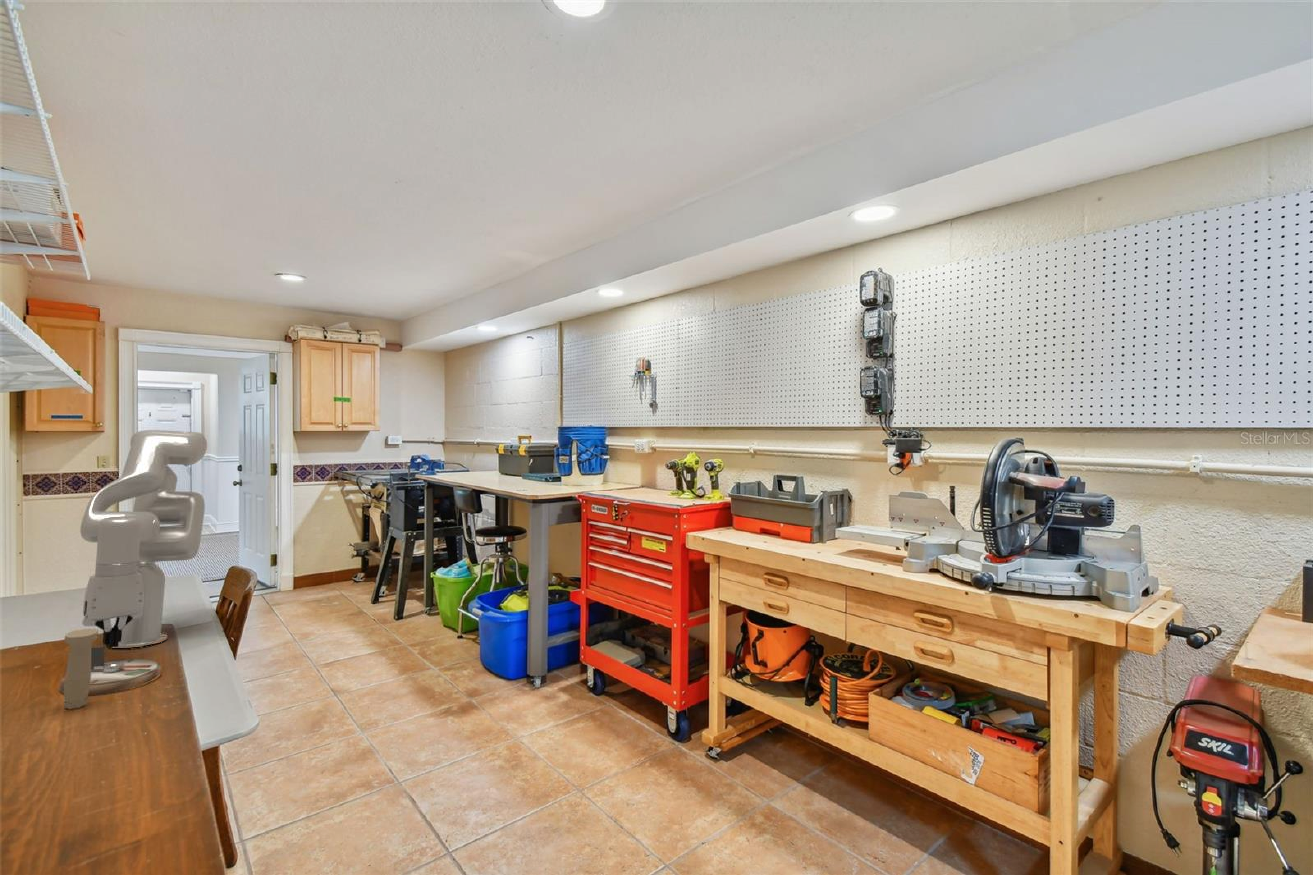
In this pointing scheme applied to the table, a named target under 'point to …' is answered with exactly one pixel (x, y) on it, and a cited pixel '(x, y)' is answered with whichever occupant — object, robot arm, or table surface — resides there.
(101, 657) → the dial pointer
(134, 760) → the table surface
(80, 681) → the handle
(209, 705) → the table surface
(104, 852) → the table surface
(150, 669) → the base
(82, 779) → the table surface
